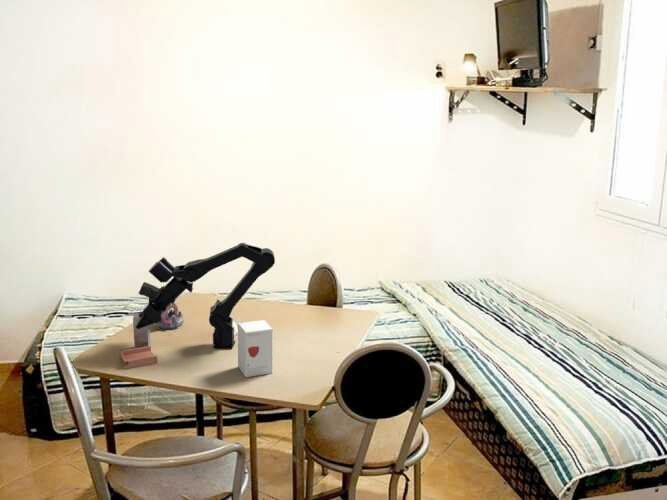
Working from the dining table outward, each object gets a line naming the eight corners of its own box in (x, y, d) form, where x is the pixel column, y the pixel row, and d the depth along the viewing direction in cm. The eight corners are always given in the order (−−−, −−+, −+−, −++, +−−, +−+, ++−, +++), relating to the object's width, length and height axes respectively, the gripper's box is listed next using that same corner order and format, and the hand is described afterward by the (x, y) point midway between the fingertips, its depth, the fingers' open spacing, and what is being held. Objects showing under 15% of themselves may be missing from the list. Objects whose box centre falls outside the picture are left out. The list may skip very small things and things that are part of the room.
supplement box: (245, 378, 192) (244, 332, 188) (237, 366, 200) (236, 322, 196) (273, 373, 195) (273, 328, 192) (264, 362, 203) (264, 319, 200)
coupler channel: (150, 352, 209) (150, 345, 209) (157, 363, 201) (157, 356, 200) (119, 357, 205) (119, 350, 204) (125, 369, 196) (125, 361, 196)
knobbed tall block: (150, 345, 215) (148, 309, 212) (148, 351, 211) (146, 314, 208) (137, 345, 215) (135, 310, 212) (134, 351, 210) (132, 315, 207)
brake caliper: (179, 326, 227) (160, 299, 226) (158, 341, 230) (139, 314, 230) (193, 316, 238) (175, 291, 237) (173, 330, 241) (155, 305, 241)
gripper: (157, 268, 216) (125, 298, 217) (149, 283, 198) (114, 316, 199) (181, 289, 219) (150, 319, 220) (175, 306, 201) (141, 339, 202)
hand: (139, 323), depth 210 cm, fingers open, 9 cm apart
